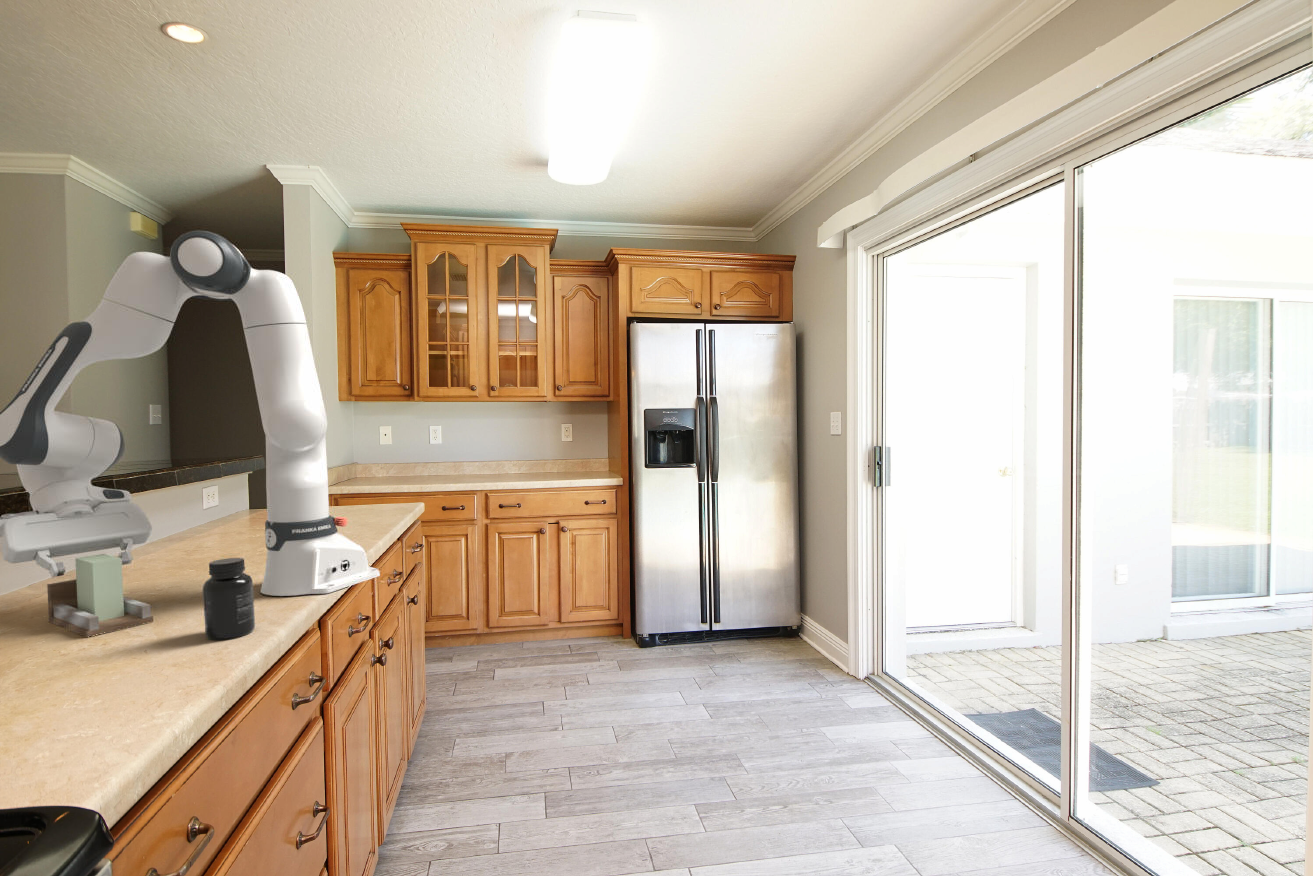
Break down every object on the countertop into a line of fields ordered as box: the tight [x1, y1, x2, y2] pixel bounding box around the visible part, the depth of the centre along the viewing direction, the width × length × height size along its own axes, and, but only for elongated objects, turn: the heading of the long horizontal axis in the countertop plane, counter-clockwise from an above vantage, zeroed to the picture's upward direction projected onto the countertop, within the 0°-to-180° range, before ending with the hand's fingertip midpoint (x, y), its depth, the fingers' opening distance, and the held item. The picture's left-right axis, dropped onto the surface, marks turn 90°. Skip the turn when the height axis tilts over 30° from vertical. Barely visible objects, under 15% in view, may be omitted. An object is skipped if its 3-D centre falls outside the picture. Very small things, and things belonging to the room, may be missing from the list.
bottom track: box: [46, 578, 154, 638], centre depth 113 cm, size 16×9×6 cm, turn 59°
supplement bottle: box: [202, 557, 256, 641], centre depth 107 cm, size 7×7×12 cm
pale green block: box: [74, 553, 124, 621], centre depth 113 cm, size 7×4×10 cm, turn 59°
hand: (94, 568), depth 114 cm, fingers open, 8 cm apart
